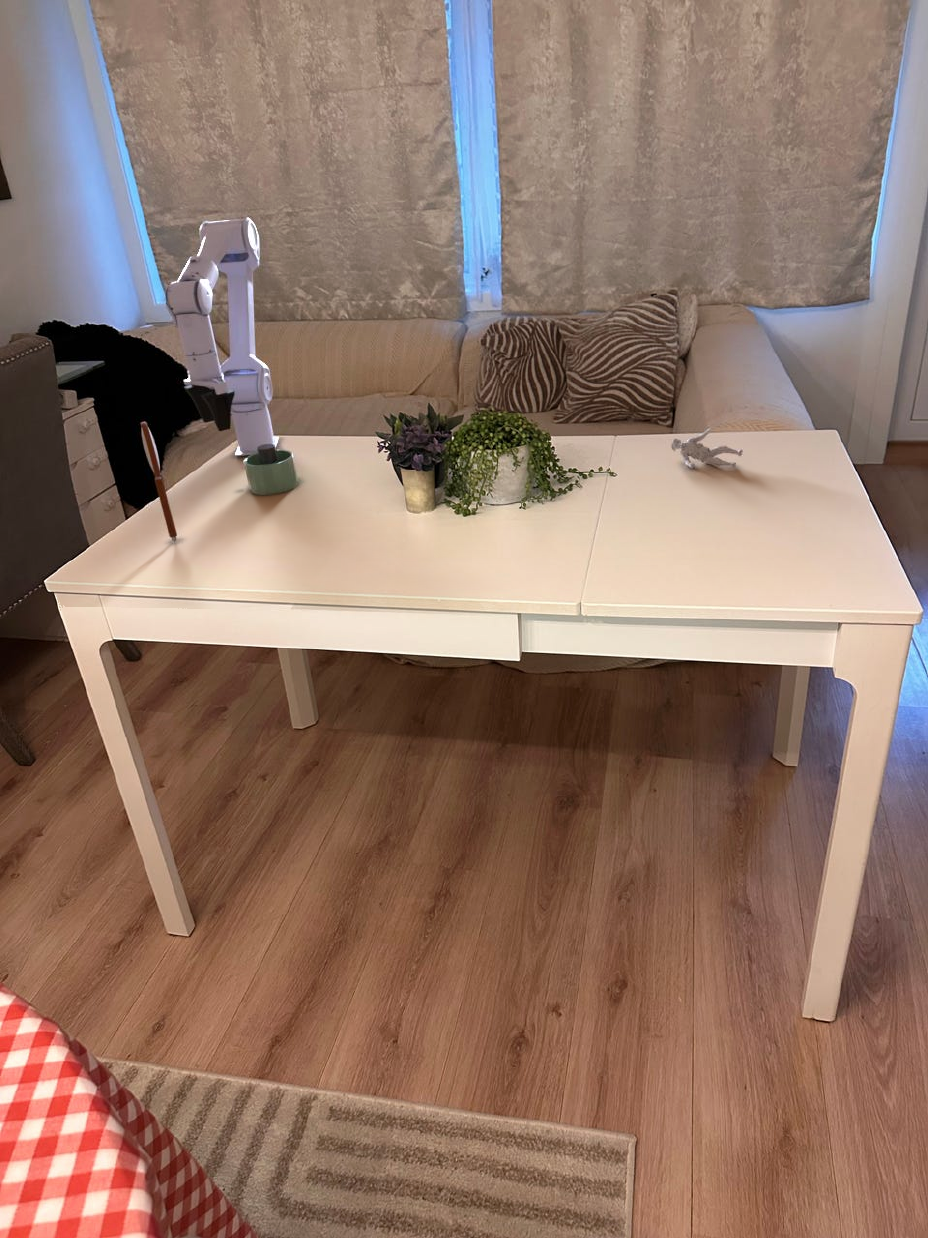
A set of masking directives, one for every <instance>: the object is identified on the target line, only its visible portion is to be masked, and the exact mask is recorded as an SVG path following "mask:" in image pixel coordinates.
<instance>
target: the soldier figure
mask: <svg viewBox="0 0 928 1238" xmlns="http://www.w3.org/2000/svg"><path fill="white" fill-rule="evenodd" d="M713 430H714V429H713V428H708V429H706V430H705V431H704V432H703V433H701V434H699V435H698V436H695V437H691V438H688V439H687V440H686V441H684V442H682V440H680V439H678V438H673V440H672V442H671V445H670V446H671V450H672V451H673V452H674V453H675V451H676V450H679V449H681V450H680V455H681V457H682V459H683V461H684V463H685V465H686V466H687V467H689V468H691V469H694V467H695V463H693V462H692V461H691V459H690V457H691V458H692V459H693V460H697V461H700V462H701V463H703V464H707V465H714V466H718V467H721V466H723V467H731V468H734V469H735V468H736V467H737V462H729V461H726V460H723V459H721V458H719V457H717V456H718V455H722V454H730V455H737V456H738V457H742V455H743V452H744V450H743V449H740V450H737V449H733V448H731V447H729V446H727V445H719V446H716V447H715V446H714V447H712V448H711V449H710V447H707V446H704V444H703V443H701V441H703V440H704V439H705V438H706V436H708V434H710V431H713Z"/></svg>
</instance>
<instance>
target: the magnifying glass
mask: <svg viewBox="0 0 928 1238" xmlns="http://www.w3.org/2000/svg"><path fill="white" fill-rule="evenodd" d="M140 427H141V439H142V444H143V449H144V452H145V455H146V458H147V459H146V460H147V462H148V464H149V466H150V468H151V471H152V472H153V476H154V477H155V478H154V484H155V486H156V490H157V494H158V498H159V501H160V506H161V509H162V513H163V516H164V520H165V524H166V529H167V532H168V536H169V538H171V541H172V542H176V541H177V540H178V539H177V537H178V533H177V529H176V525H175V521H174V517H173V514H172V510H171V505H170V502H169V498H168V495H167V491H166V487H165V483H164V479H163V477H162V476H161V466H160V458H159V453H158V450H157V446H156V443H155V439H154V436H153V434H152V432H151V430H150V428H149V426H148V422H146V421H142V422H140Z"/></svg>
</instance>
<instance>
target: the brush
mask: <svg viewBox="0 0 928 1238" xmlns="http://www.w3.org/2000/svg"><path fill="white" fill-rule="evenodd" d="M276 448H277V447H276ZM276 448H275V445H274V444H263V445H260V446H258V447H257V450H258V455H259V459H260V463H261V464H262V465H270V464H275V463H277V461H278V459H277V453H276V450H277V449H276Z"/></svg>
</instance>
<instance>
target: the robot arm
mask: <svg viewBox="0 0 928 1238" xmlns="http://www.w3.org/2000/svg"><path fill="white" fill-rule="evenodd" d="M199 240H200V245H201V246H200V249H199V252H198V254H197V255H193V256H191V255H190V257H189V258H188V261H187V263H186V265H185V267H184V268H183V269H182V272H181V274H180V276H179V277H178V279H177V281H172V282H171V283H170V284H169V285H167V286H166V288H165V293H164V297H165V298H164V299H165V306H166V307H165V308H166V310H167V311H168V313H169V315H170V316H171V319H172V322H173V326H174V327H175V328H177V330H178V333H179V338H180V343H181V346H182V350H183V356H184V358H185V364H186V368H187V371H186V373H187V377H188V378H187V379H186V378H185V379H183V384H184V385H185V386H183V389H184V390H185V392H187V394H188V396H190V398H191V400H192V401H193V403H194V406H195V407H196V409H197V411H198V413H199V416H200V418H201V420H202V422H203V423H204V424H207V423H211V422H214V424H215V426H216V429H217V430H218V431H219V432H225V431H227V430H231V428H232V427H231V422H232V421H233V426H234V430H235V431H234V432H235V436H236V440H237V445H238V446H237V449H236V451H235V452H234V455H235V457H245V456H250V455H252V454H255V453H258V450H257V447H258V446H260V445H263V444H274V445H275V448H277V445H278V442H279V439H280V436H274V431H273V426H272V420H271V415H270V410H269V409H268V405H269V404H270V403H271V401H272V399H273V394H274V389H273V382H272V379H271V371H270V368H269V367H268V365H266V364H265V363H264V362H263V361H261V360H260V359H258V358H257V357H256V338H255V308H254V307H255V306H254V305H255V303H254V271H255V270H256V269H257V268H259V267H260V258H261V257H260V237H259V233H258V231H257V227H256V225H255V223H254V222H253V221H252V219H251V218H250V217H244V218H239V219H229V220H216V221H214V220H213V221H208V220H205V221H203V222H202V223H201V225H200V228H199ZM219 271H220V272H221V273H224V274H225V276H226V277H227V279H226V280H227V301H228V302H227V303H228V306H227V307H228V327H229V328H228V330H229V331H228V332H229V333H228V334H229V335H228V336H229V357H228V358H227V359H226V360H225V361H224V362H223V363H221V364H220V359H219V355H218V349H217V345H216V341H215V336H214V331H213V327H212V322H211V317H210V313H211V312H212V309H213V297H214V296H213V294H214V293H213V290H214V288H215V285H216V284H217V282H218V280H219V275H220V273H219Z"/></svg>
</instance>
